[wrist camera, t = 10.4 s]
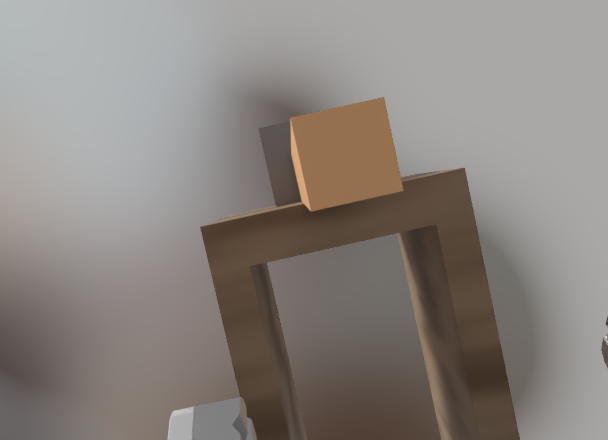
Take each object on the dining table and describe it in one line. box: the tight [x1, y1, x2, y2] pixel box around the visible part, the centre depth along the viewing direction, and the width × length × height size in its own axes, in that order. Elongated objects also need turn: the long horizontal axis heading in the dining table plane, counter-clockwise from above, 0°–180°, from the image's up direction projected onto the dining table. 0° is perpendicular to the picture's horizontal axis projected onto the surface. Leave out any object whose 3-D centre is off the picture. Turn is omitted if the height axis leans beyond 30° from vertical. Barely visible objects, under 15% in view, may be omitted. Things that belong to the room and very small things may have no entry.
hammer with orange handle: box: [259, 97, 404, 211], centre depth 22 cm, size 17×5×4 cm, turn 1°
